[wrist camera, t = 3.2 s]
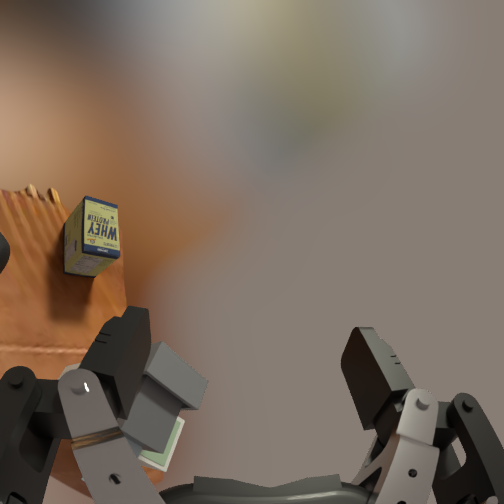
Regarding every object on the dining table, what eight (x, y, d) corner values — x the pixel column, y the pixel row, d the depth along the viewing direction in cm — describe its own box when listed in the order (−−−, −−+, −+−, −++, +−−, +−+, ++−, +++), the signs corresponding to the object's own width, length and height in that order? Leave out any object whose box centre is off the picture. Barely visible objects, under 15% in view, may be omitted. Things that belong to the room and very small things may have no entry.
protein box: (92, 229, 75) (118, 204, 68) (94, 278, 70) (121, 257, 63) (63, 223, 67) (85, 194, 60) (62, 274, 62) (84, 251, 55)
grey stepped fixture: (114, 456, 50) (242, 485, 31) (41, 405, 42) (120, 424, 23) (132, 417, 60) (257, 418, 42) (66, 366, 52) (162, 340, 34)
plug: (115, 496, 23) (141, 509, 20) (73, 475, 20) (94, 489, 17) (158, 395, 38) (186, 394, 35) (126, 370, 36) (151, 366, 33)
